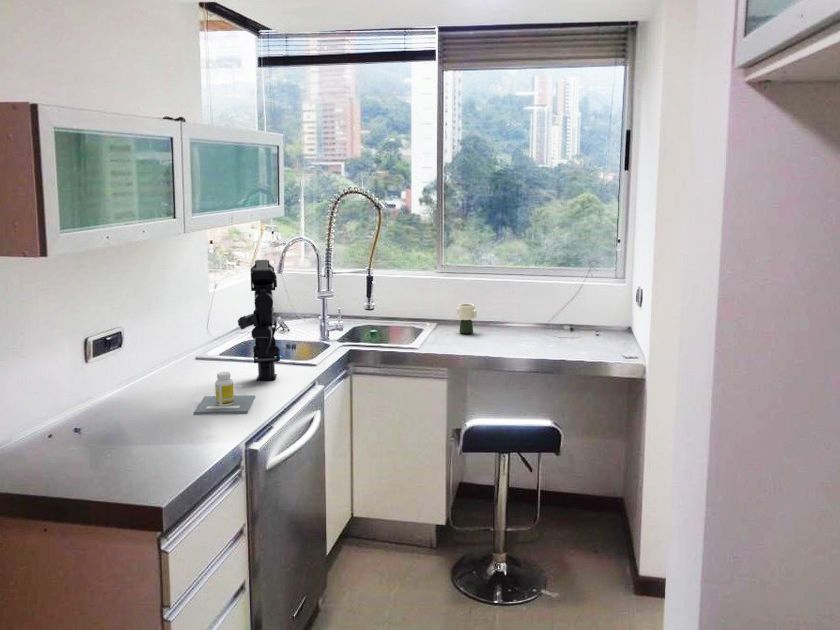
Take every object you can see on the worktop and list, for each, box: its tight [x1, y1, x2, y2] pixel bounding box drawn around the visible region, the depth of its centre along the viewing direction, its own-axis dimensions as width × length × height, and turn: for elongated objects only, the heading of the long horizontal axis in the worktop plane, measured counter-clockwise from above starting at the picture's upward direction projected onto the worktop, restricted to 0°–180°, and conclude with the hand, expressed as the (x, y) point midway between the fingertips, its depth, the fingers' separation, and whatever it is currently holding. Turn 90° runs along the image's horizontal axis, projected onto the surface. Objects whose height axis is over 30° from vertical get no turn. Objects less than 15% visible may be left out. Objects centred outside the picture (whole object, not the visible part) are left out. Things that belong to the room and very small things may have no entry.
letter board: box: [193, 394, 256, 415], centre depth 240 cm, size 16×16×1 cm
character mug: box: [456, 303, 478, 335], centre depth 342 cm, size 11×7×13 cm, turn 49°
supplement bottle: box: [214, 371, 235, 406], centre depth 239 cm, size 5×5×10 cm
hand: (265, 352), depth 254 cm, fingers open, 9 cm apart
